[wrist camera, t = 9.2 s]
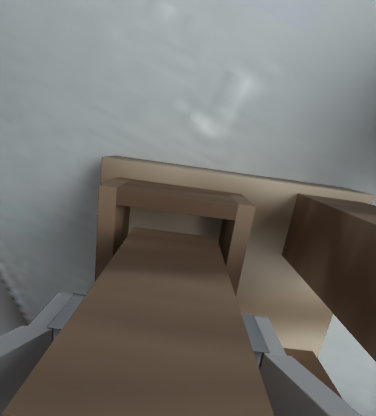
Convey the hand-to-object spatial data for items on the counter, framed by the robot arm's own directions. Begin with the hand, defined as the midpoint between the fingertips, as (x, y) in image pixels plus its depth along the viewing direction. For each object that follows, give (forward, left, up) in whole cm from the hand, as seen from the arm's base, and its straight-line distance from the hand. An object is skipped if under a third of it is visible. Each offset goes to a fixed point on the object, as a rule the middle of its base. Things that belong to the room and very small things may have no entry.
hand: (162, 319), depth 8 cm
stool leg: (0, 0, -4) cm, 4 cm away
